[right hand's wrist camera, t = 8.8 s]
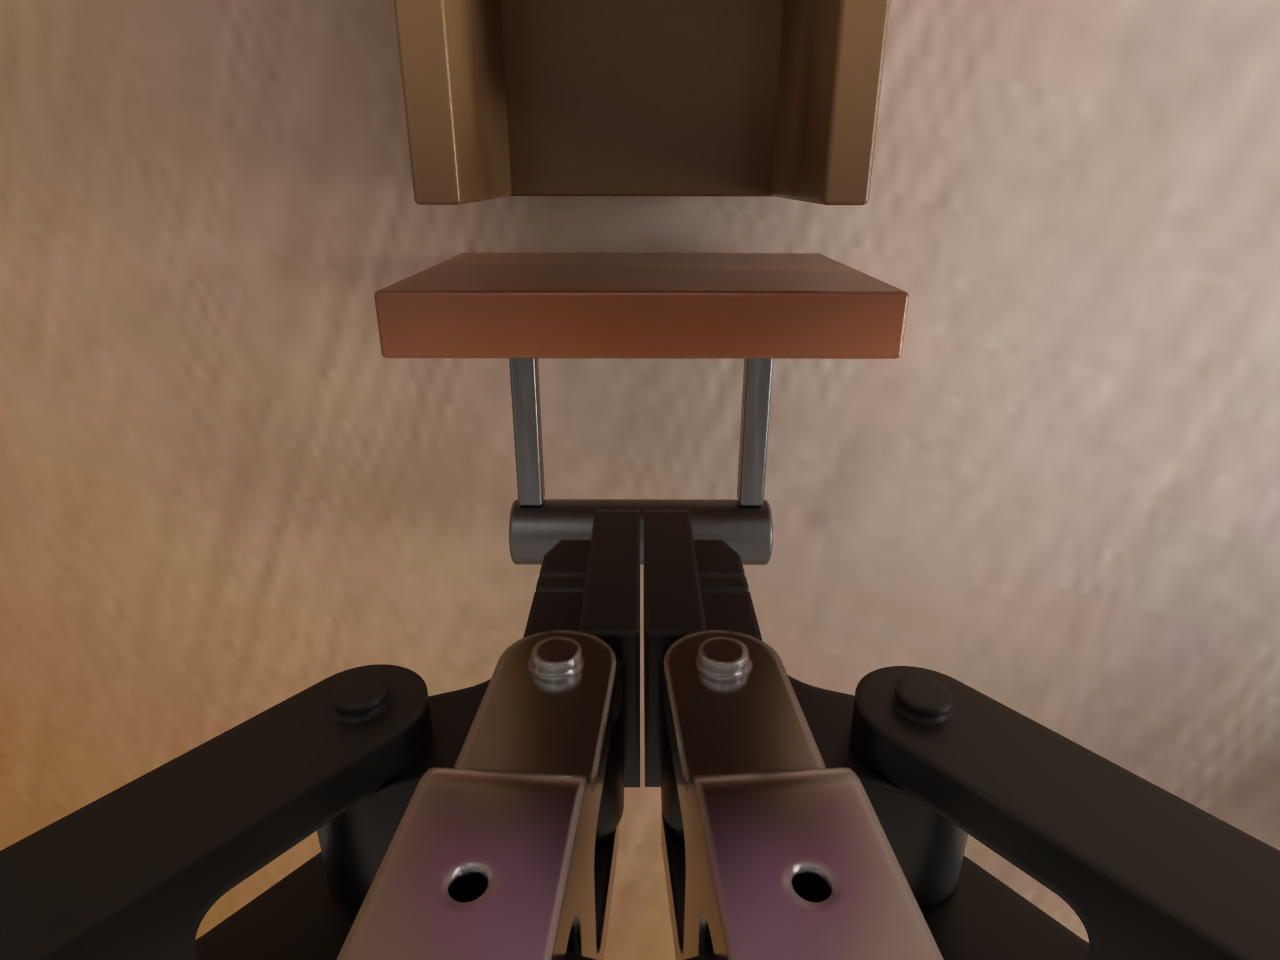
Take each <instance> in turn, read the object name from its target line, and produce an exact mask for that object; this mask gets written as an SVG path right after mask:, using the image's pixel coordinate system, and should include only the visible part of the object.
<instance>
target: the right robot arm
mask: <svg viewBox="0 0 1280 960" xmlns="http://www.w3.org/2000/svg"><path fill="white" fill-rule="evenodd" d="M644 718H645V787H661V798H662V832H661V839H662V851H663V859H664V867H665V875H666V883H667V891H668V899H669V907H670V915H671V924H672V932H673V940H674V948H675V956H676V960H1280V851H1279V850H1277V849H1275V848H1273V847H1271V846H1269V845H1267V844H1265V843H1264V842H1262V841H1260V840H1258V839H1256V838H1254V837H1252V836H1250V835H1248V834H1247V833H1245V832H1243V831H1241V830H1239V829H1237V828H1235V827H1233V826H1231V825H1230V824H1228V823H1226V822H1224V821H1222V820H1220V819H1218V818H1216V817H1214V816H1213V815H1211V814H1209V813H1207V812H1205V811H1203V810H1201V809H1199V808H1197V807H1196V806H1194V805H1192V804H1190V803H1188V802H1186V801H1184V800H1182V799H1180V798H1179V797H1177V796H1175V795H1173V794H1171V793H1169V792H1167V791H1165V790H1163V789H1162V788H1160V787H1158V786H1156V785H1154V784H1152V783H1150V782H1148V781H1146V780H1145V779H1143V778H1141V777H1139V776H1137V775H1135V774H1133V773H1131V772H1129V771H1128V770H1126V769H1124V768H1122V767H1120V766H1118V765H1116V764H1114V763H1112V762H1111V761H1109V760H1107V759H1105V758H1103V757H1101V756H1099V755H1097V754H1095V753H1094V752H1092V751H1090V750H1088V749H1086V748H1084V747H1082V746H1080V745H1078V744H1077V743H1075V742H1073V741H1071V740H1069V739H1067V738H1065V737H1063V736H1061V735H1059V734H1058V733H1056V732H1054V731H1052V730H1050V729H1048V728H1046V727H1044V726H1042V725H1041V724H1039V723H1037V722H1035V721H1033V720H1031V719H1029V718H1027V717H1025V716H1024V715H1022V714H1020V713H1018V712H1016V711H1014V710H1012V709H1010V708H1008V707H1007V706H1005V705H1003V704H1001V703H999V702H997V701H995V700H993V699H991V698H990V697H988V696H986V695H984V694H982V693H980V692H978V691H976V690H974V689H973V688H971V687H969V686H967V685H965V684H963V683H961V682H959V681H957V680H955V679H953V678H951V677H949V676H947V675H944V674H941V673H939V672H936V671H932V670H928V669H924V668H918V667H909V666H893V667H886V668H881V669H878V670H875V671H873V672H871V673H869V674H867V675H866V676H865V677H863V678H862V679H861V681H860V682H859V683H858V685H857V688H856V692H855V696H853V695H849V694H844V693H839V692H835V691H830V690H825V689H821V688H817V687H813V686H811V685H808V684H805V683H802V682H800V681H798V680H796V679H794V678H792V677H790V676H789V675H787V673H786V671H785V668H784V666H783V663H782V661H781V659H780V657H779V656H778V654H777V653H776V652H775V651H774V649H773V648H771V647H770V646H769V645H768V644H766V643H764V642H763V641H762V638H761V634H760V630H759V626H758V622H757V619H756V615H755V611H754V607H753V603H752V600H751V596H750V592H748V584H747V581H746V577H745V576H744V569H743V565H742V562H741V558H740V555H739V554H738V553H737V552H736V551H735V550H734V549H732V548H731V547H730V546H729V545H728V544H727V543H726V542H725V541H723V540H693V533H692V526H691V520H690V513H689V510H644ZM624 787H640V510H595V513H594V520H593V528H592V535H591V540H561V541H560V542H558V543H557V544H556V545H555V546H554V547H553V548H552V549H551V550H550V551H548V552H547V553H546V554H545V555H544V558H543V562H542V566H541V570H540V577H539V578H538V582H537V586H536V592H535V594H534V598H533V602H532V606H531V610H530V614H529V618H528V622H527V626H526V630H525V634H524V638H523V639H521V640H519V641H517V642H516V643H514V644H512V645H511V646H510V647H509V648H507V649H506V651H505V652H504V653H503V654H502V656H501V657H500V659H499V661H498V663H497V666H496V668H495V671H494V673H493V675H492V678H491V679H490V680H488V681H486V682H484V683H481V684H478V685H476V686H473V687H469V688H465V689H462V690H457V691H452V692H448V693H443V694H438V695H434V696H429V697H428V692H427V687H426V684H425V682H424V680H423V679H422V678H421V677H420V676H419V675H418V674H416V673H415V672H413V671H411V670H409V669H407V668H403V667H400V666H394V665H368V666H362V667H356V668H353V669H349V670H346V671H343V672H340V673H337V674H335V675H333V676H331V677H328V678H326V679H324V680H323V681H321V682H319V683H317V684H315V685H313V686H311V687H309V688H307V689H306V690H304V691H302V692H300V693H298V694H296V695H294V696H292V697H290V698H289V699H287V700H285V701H283V702H281V703H279V704H277V705H275V706H273V707H272V708H270V709H268V710H266V711H264V712H262V713H260V714H258V715H256V716H255V717H253V718H251V719H249V720H247V721H245V722H243V723H241V724H239V725H238V726H236V727H234V728H232V729H230V730H228V731H226V732H224V733H222V734H221V735H219V736H217V737H215V738H213V739H211V740H209V741H207V742H205V743H204V744H202V745H200V746H198V747H196V748H194V749H192V750H190V751H188V752H187V753H185V754H183V755H181V756H179V757H177V758H175V759H173V760H171V761H170V762H168V763H166V764H164V765H162V766H160V767H158V768H156V769H154V770H153V771H151V772H149V773H147V774H145V775H143V776H141V777H139V778H137V779H136V780H134V781H132V782H130V783H128V784H126V785H124V786H122V787H120V788H119V789H117V790H115V791H113V792H111V793H109V794H107V795H105V796H103V797H102V798H100V799H98V800H96V801H94V802H92V803H90V804H88V805H86V806H85V807H83V808H81V809H79V810H77V811H75V812H73V813H71V814H69V815H67V816H66V817H64V818H62V819H60V820H58V821H56V822H54V823H52V824H50V825H49V826H47V827H45V828H43V829H41V830H39V831H37V832H35V833H33V834H32V835H30V836H28V837H26V838H24V839H22V840H20V841H18V842H16V843H15V844H13V845H11V846H9V847H7V848H5V849H3V850H1V851H0V960H604V956H605V948H606V940H607V932H608V924H609V915H610V907H611V899H612V891H613V883H614V875H615V867H616V859H617V851H618V839H619V832H618V824H619V822H620V820H621V817H622V814H623V807H624ZM315 831H317V832H318V837H319V842H320V847H321V851H322V852H320V853H319V854H317V855H316V856H314V857H313V858H312V859H310V860H309V861H307V862H306V863H305V864H303V865H302V866H300V867H299V868H298V869H296V870H295V871H293V872H292V873H290V874H289V875H288V876H286V877H285V878H283V879H282V880H281V881H279V882H278V883H276V884H275V885H274V886H272V887H271V888H269V889H268V890H266V891H265V892H264V893H262V894H261V895H259V896H258V897H257V898H255V899H254V900H252V901H251V902H250V903H248V904H247V905H245V906H244V907H242V908H241V909H240V910H238V911H237V912H235V913H234V914H233V915H231V916H230V917H228V918H227V919H225V920H224V921H223V922H221V923H220V924H218V925H217V926H216V927H214V928H213V929H211V930H210V931H209V932H207V933H206V934H204V935H203V936H201V937H200V938H198V939H197V940H195V937H196V933H197V930H198V927H199V925H200V923H201V921H202V919H203V918H204V916H205V914H206V913H207V912H208V910H209V909H210V908H211V906H212V905H213V904H214V903H215V902H216V901H217V900H218V899H219V898H220V897H221V896H222V895H224V894H225V893H226V892H227V891H229V890H230V889H232V888H233V887H234V886H236V885H237V884H239V883H240V882H242V881H243V880H245V879H246V878H248V877H249V876H251V875H252V874H254V873H255V872H256V871H258V870H259V869H261V868H262V867H264V866H265V865H267V864H268V863H270V862H271V861H273V860H274V859H276V858H277V857H278V856H280V855H281V854H283V853H284V852H286V851H287V850H289V849H290V848H292V847H293V846H295V845H296V844H297V843H299V842H300V841H302V840H303V839H305V838H306V837H308V836H309V835H311V834H312V833H314V832H315ZM968 834H969V835H971V836H972V837H974V838H975V839H977V840H978V841H980V842H981V843H983V844H984V845H985V846H987V847H988V848H990V849H991V850H993V851H994V852H996V853H997V854H999V855H1000V856H1002V857H1003V858H1005V859H1006V860H1007V861H1009V862H1010V863H1012V864H1013V865H1015V866H1016V867H1018V868H1019V869H1021V870H1022V871H1024V872H1025V873H1027V874H1028V875H1029V876H1031V877H1032V878H1034V879H1035V880H1037V881H1038V882H1040V883H1041V884H1043V885H1044V886H1046V887H1047V888H1048V889H1050V890H1051V891H1053V892H1054V893H1056V894H1057V895H1058V896H1060V897H1061V898H1062V899H1063V900H1064V901H1065V902H1066V903H1067V904H1069V906H1070V907H1071V908H1072V909H1073V910H1074V911H1075V913H1076V914H1077V915H1078V917H1079V918H1080V920H1081V921H1082V923H1083V925H1084V927H1085V929H1086V931H1087V934H1088V938H1089V943H1088V942H1086V941H1084V940H1083V939H1081V938H1080V937H1079V936H1077V935H1076V934H1074V933H1073V932H1071V931H1070V930H1069V929H1067V928H1066V927H1064V926H1063V925H1062V924H1060V923H1059V922H1057V921H1056V920H1055V919H1053V918H1052V917H1050V916H1049V915H1047V914H1046V913H1045V912H1043V911H1042V910H1040V909H1039V908H1038V907H1036V906H1035V905H1033V904H1032V903H1031V902H1029V901H1028V900H1026V899H1025V898H1023V897H1022V896H1021V895H1019V894H1018V893H1016V892H1015V891H1014V890H1012V889H1011V888H1009V887H1008V886H1006V885H1005V884H1004V883H1002V882H1001V881H999V880H998V879H997V878H995V877H994V876H992V875H991V874H990V873H988V872H987V871H985V870H984V869H982V868H981V867H980V866H978V865H977V864H975V863H974V862H973V861H971V860H970V859H968V858H967V857H966V856H964V851H965V846H966V841H967V837H968Z"/></svg>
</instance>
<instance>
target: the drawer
mask: <svg viewBox="0 0 1280 960" xmlns="http://www.w3.org/2000/svg"><path fill="white" fill-rule="evenodd" d="M394 7H395V16H396V26H397V36H398V45H399V55H400V64H401V74H402V84H403V93H404V103H405V112H406V122H407V131H408V141H409V151H410V160H411V170H412V179H413V189H414V199H415V202H416V203H417V204H444V205H458V204H464V203H470V202H476V201H482V200H488V199H494V198H500V197H506V196H775V197H781V198H787V199H793V200H800V201H806V202H812V203H818V204H824V205H864V204H866V203H867V202H868V200H869V192H870V182H871V173H872V164H873V155H874V145H875V136H876V127H877V118H878V108H879V99H880V90H881V81H882V71H883V62H884V53H885V44H886V34H887V25H888V16H889V7H890V0H394ZM374 297H375V305H376V312H377V320H378V328H379V336H380V343H381V351H382V355H383V357H386V358H509V363H510V378H511V394H512V409H513V424H514V440H515V455H516V471H517V486H518V500H515V501H514V503H513V505H512V508H511V514H510V524H509V544H510V553H511V558H512V561H513V563H515V564H542V562H543V558H544V555H545V554H546V553H547V552H548V551H550V550H551V549H552V548H553V547H554V546H555V545H556V544H557V543H558V542H560V541H561V540H591V535H592V528H593V520H594V513H595V510H640V564H644V510H689V513H690V520H691V526H692V533H693V540H723V541H725V542H726V543H727V544H728V545H729V546H730V547H731V548H732V549H734V550H735V551H736V552H737V553H738V554H739V555H740V558H741V562H742V565H765V564H767V563H768V562H769V560H770V557H771V551H772V538H773V530H772V516H771V510H770V506H769V503H768V502H767V501H766V500H763V499H764V484H765V470H766V455H767V441H768V426H769V411H770V397H771V382H772V368H773V358H819V359H896V358H899V357H900V355H901V352H902V344H903V337H904V329H905V321H906V314H907V306H908V299H909V295H908V293H907V292H905V291H902V290H900V289H898V288H896V287H893V286H891V285H889V284H887V283H884V282H882V281H880V280H878V279H875V278H873V277H871V276H869V275H866V274H864V273H862V272H860V271H857V270H855V269H853V268H850V267H848V266H846V265H844V264H841V263H839V262H837V261H835V260H832V259H830V258H828V257H826V256H823V255H821V254H745V253H462V254H460V255H458V256H456V257H453V258H451V259H449V260H447V261H444V262H442V263H440V264H438V265H435V266H433V267H431V268H429V269H426V270H424V271H422V272H420V273H417V274H415V275H413V276H411V277H408V278H406V279H404V280H402V281H399V282H397V283H395V284H393V285H390V286H388V287H386V288H384V289H381V290H379V291H377V292H375V295H374ZM538 358H744V376H743V394H742V413H741V431H740V450H739V468H738V487H737V498H738V500H544V497H545V490H544V471H543V451H542V431H541V411H540V391H539V371H538Z"/></svg>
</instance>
